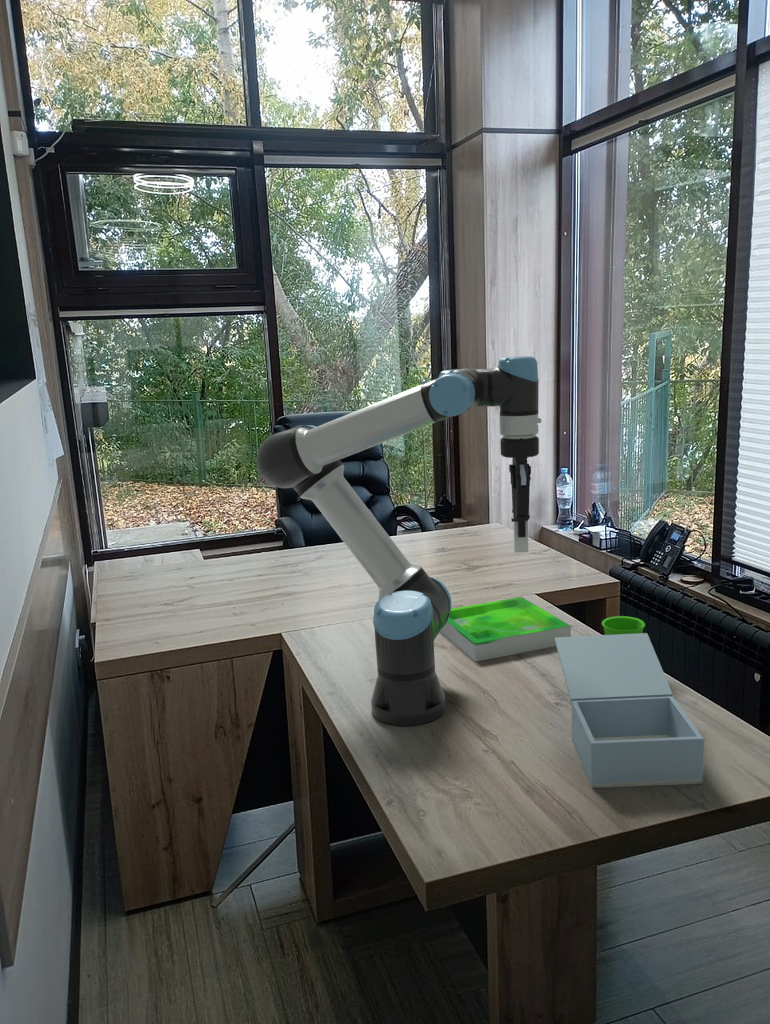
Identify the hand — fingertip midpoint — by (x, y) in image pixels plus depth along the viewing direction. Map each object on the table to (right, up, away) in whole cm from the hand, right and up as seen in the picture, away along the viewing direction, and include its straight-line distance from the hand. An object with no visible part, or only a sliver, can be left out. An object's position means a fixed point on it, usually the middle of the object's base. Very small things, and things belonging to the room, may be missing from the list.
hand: (521, 551), depth 165 cm
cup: (+24, -27, +12) cm, 38 cm away
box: (+15, -35, -25) cm, 46 cm away
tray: (+1, -24, +38) cm, 44 cm away
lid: (+15, -21, -11) cm, 28 cm away
